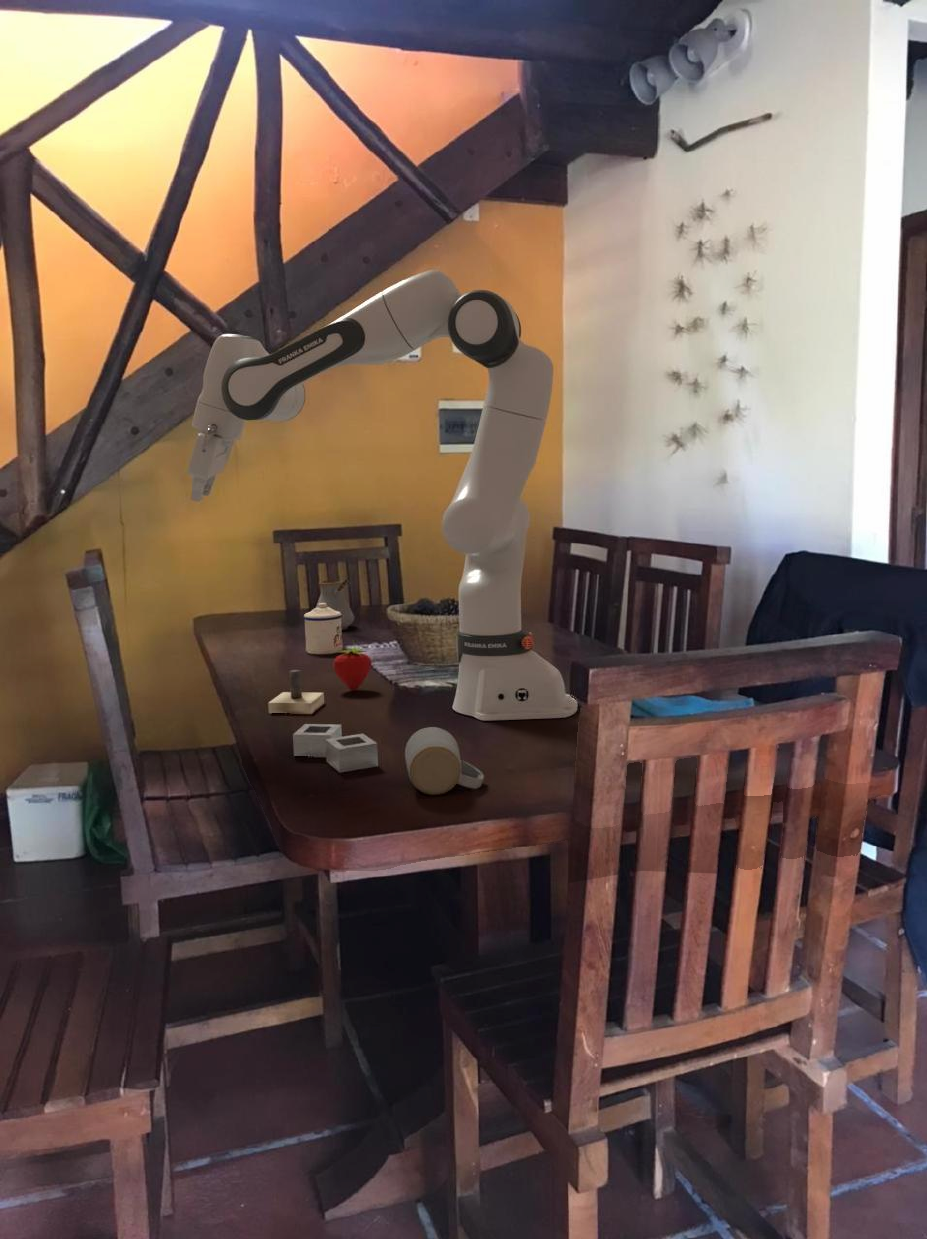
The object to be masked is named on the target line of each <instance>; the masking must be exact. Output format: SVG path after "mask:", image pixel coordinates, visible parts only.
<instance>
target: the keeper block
mask: <svg viewBox="0 0 927 1239" xmlns="http://www.w3.org/2000/svg"><path fill="white" fill-rule="evenodd" d="M289 683H290V684H289V686H290V691H289V692H288V691H283V692H282V691H281V693H280V694H278V695H277V696H276V697H274V698H273V699H271V700H270V701H269V702H268V703H267V704H268V714H272V713H285V714H284V715H286V713H290V714H289V715H292V714H293V715H312V714H313V713H314V712H316V711H317V710H318V709H319V708H320V707H322V706H323V705H324V704H325V693H324V692H303V691H302V690H303V689H302V672H301V670H300V669H292V670H289ZM315 710H316V711H315Z"/></svg>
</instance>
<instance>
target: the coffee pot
mask: <svg viewBox="0 0 927 1239" xmlns="http://www.w3.org/2000/svg"><path fill="white" fill-rule="evenodd" d="M347 583H349V586H348V585H347ZM351 584H352V583H351V582H350V580H347V579H343V580H324V581H323V580H322V581H319V582H318V585H319V586H320V588H321V589H322V590H321V593H320V595H319V598H318V601H317V604H316V607H315V608H318V604H319V603H326V607H329V608H331V609H333V610H335V611H339V612H340V613H341V615H342V617H341V627H342V630H343V631H344V630H346V629H348V628H349V626H350V625H352V624H353V622H354V620H355V615H354V613H353V611H352V609H351V607H350V605H349V602H348V601H347V598H346V596H345V594H344V592H343V591H342V590H343V589H344V588H346V585H347V588H349V587H350V586H351Z"/></svg>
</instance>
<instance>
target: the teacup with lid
mask: <svg viewBox="0 0 927 1239" xmlns="http://www.w3.org/2000/svg"><path fill="white" fill-rule="evenodd" d="M341 617H342V615H341V613H340V612H339V611H335V610H333V609H331V608H329V607H326V603H319V604H318V608H316V607H315V608H313V609H311V611H309V612H306V613H305V614H304V615H303V620H304V631H305V632H304V635H305V650H306V653H308V654H311V655H333V654H337V653H339V652H340V651H343V635H342V634H343V632H342V627H341Z"/></svg>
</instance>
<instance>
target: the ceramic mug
mask: <svg viewBox="0 0 927 1239" xmlns="http://www.w3.org/2000/svg"><path fill="white" fill-rule="evenodd" d="M404 759H405V764H406V769H407V773H408V777H409V780H410V782H411V783H412V784H413V786H414V787H415V788H416V789H417V790H419V791H420V792H422V793H424V794H426V795H430V796H431V795H432V796H438V795H443V794H445V793H447V792H449V791H451V790H452V789H453V788H454V787H456V785H460V786H462V787H465V788H467V789H468V788H469V789H474V790H475V789H479V788H481V786H482V784H483V781H484V780H485V775H484V773H482V770H479V769H478V768H477V767H476V766H474V765H472V764H470V763H468V762H467V761H465V760H463V759H461V755H460V748H459V744H458V742H457V740H456V739H455V738H454V736H453V735H452V734H451V733H450V732H448V731H447V730H445V729H443V728H440V727H437V726H436V727H435V726H429V727H425V728H421V729H419V730H417V731H416V732H414V733H413V734H412V735H411V737H410V738H409V739H408V741H407V743H406V744H405V748H404Z"/></svg>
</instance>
